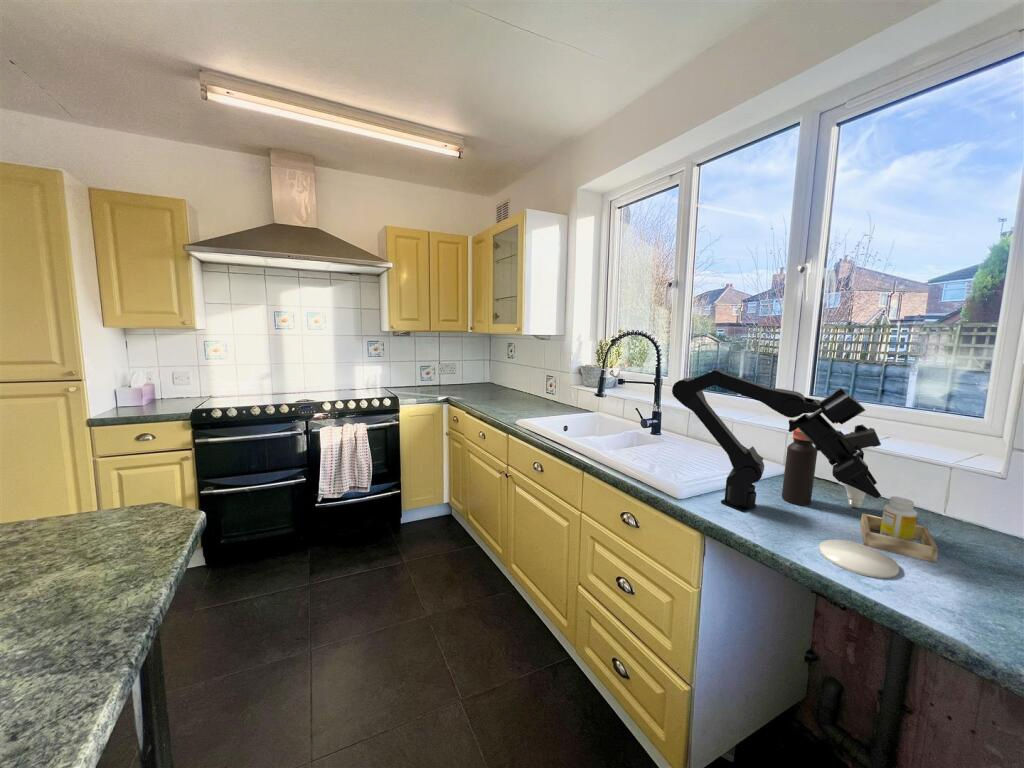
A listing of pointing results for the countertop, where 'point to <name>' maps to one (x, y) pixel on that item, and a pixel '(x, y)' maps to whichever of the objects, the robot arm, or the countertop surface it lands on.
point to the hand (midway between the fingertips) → (876, 490)
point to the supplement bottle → (899, 519)
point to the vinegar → (799, 470)
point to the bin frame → (899, 540)
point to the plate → (859, 558)
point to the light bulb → (854, 496)
